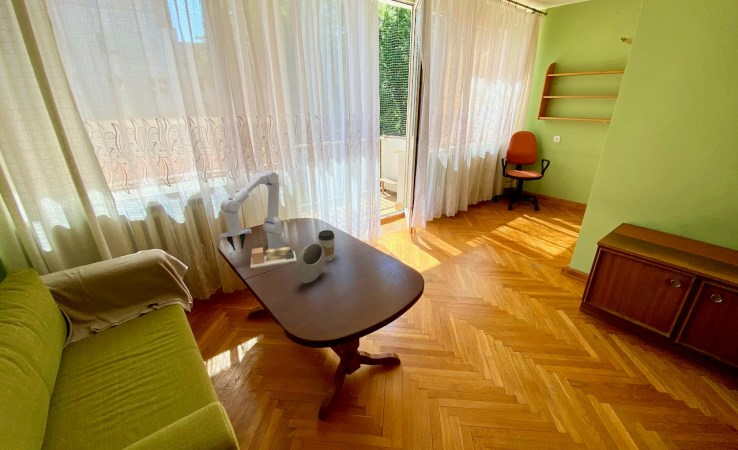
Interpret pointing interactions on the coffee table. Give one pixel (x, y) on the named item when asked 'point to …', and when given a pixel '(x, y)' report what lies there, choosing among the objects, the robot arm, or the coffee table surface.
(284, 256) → the slat
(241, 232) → the robot arm
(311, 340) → the coffee table surface
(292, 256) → the cap board
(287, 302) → the coffee table surface
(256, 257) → the sliding end cap
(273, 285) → the coffee table surface
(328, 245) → the coffee cup
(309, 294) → the coffee table surface
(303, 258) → the planter
